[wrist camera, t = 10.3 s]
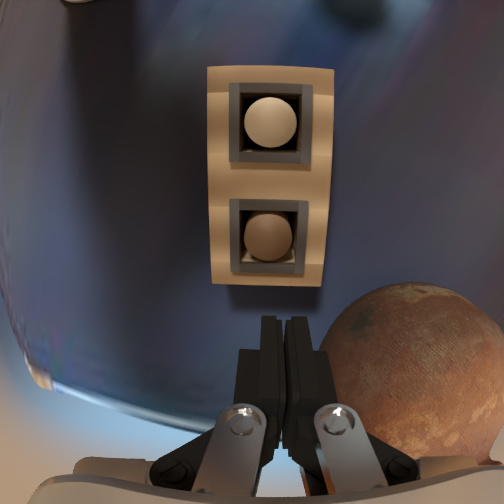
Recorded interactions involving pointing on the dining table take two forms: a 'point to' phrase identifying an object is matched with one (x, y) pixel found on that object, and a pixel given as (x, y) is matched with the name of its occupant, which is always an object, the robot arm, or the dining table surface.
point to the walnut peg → (267, 234)
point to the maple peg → (270, 122)
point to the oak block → (269, 173)
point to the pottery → (421, 370)
